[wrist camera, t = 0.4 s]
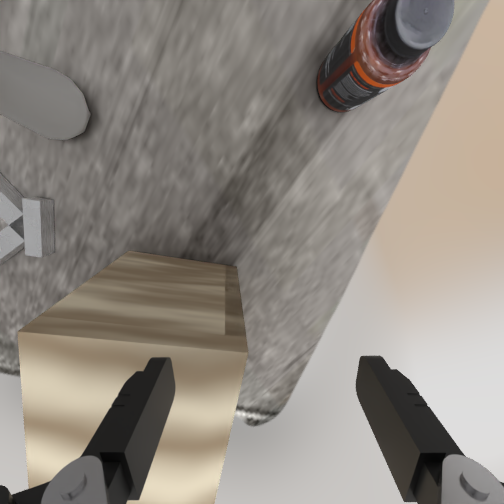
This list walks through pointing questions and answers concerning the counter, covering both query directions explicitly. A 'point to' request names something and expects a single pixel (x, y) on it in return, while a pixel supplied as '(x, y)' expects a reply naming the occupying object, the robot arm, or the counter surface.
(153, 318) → the shelf
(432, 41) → the supplement bottle
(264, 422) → the counter surface
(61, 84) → the salt shaker
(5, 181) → the grey angled bar piece
